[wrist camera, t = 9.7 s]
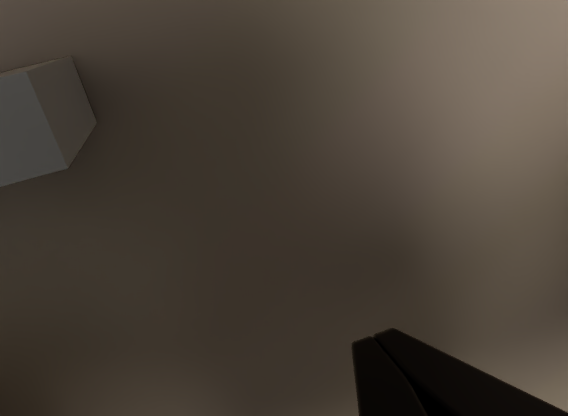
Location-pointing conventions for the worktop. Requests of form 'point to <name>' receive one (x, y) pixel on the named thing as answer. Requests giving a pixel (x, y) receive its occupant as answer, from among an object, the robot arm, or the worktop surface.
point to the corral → (41, 119)
